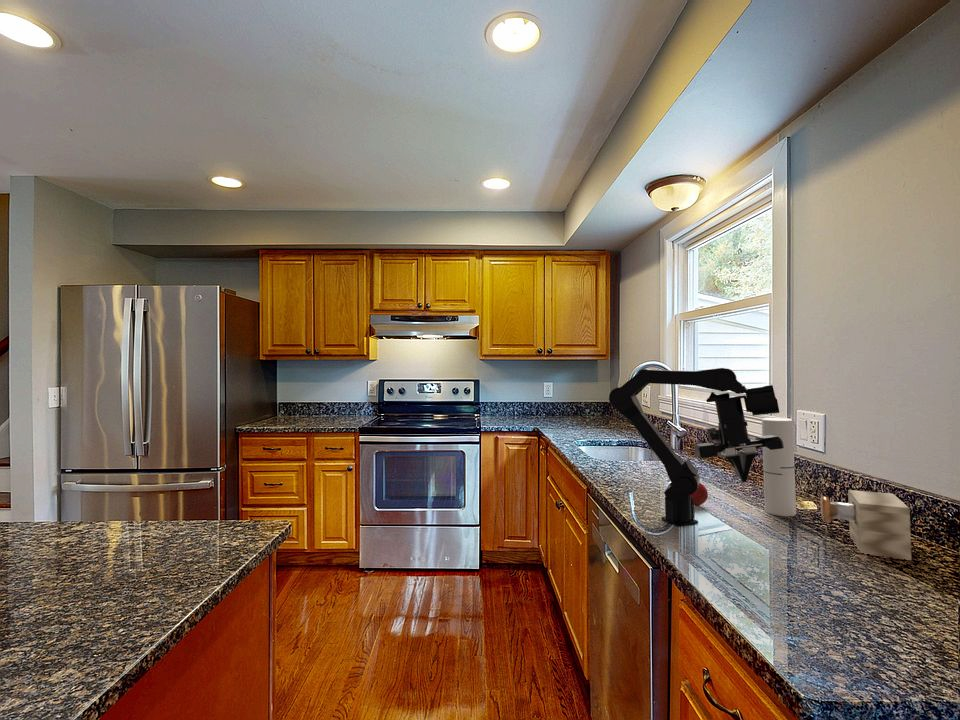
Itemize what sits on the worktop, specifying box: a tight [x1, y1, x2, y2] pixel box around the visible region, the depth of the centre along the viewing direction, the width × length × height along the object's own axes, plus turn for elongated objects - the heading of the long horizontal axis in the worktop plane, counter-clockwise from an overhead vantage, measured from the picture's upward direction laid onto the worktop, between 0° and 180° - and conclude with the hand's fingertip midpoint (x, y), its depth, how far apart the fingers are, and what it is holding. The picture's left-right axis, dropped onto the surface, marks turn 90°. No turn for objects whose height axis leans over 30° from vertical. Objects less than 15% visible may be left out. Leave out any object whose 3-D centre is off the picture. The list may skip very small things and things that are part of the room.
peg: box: [820, 495, 856, 523], centre depth 105 cm, size 9×6×6 cm, turn 61°
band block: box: [847, 489, 912, 561], centre depth 102 cm, size 8×12×10 cm, turn 151°
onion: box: [689, 481, 709, 508], centre depth 134 cm, size 6×6×8 cm
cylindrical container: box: [761, 417, 797, 517], centre depth 128 cm, size 7×7×25 cm
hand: (744, 482), depth 114 cm, fingers closed
